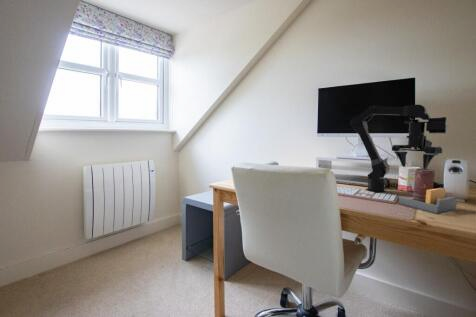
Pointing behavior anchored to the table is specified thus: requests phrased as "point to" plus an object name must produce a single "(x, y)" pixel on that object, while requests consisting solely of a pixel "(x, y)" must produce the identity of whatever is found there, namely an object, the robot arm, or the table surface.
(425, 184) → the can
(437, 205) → the grey shallow open box
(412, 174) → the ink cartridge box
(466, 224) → the table surface
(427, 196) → the wedge
